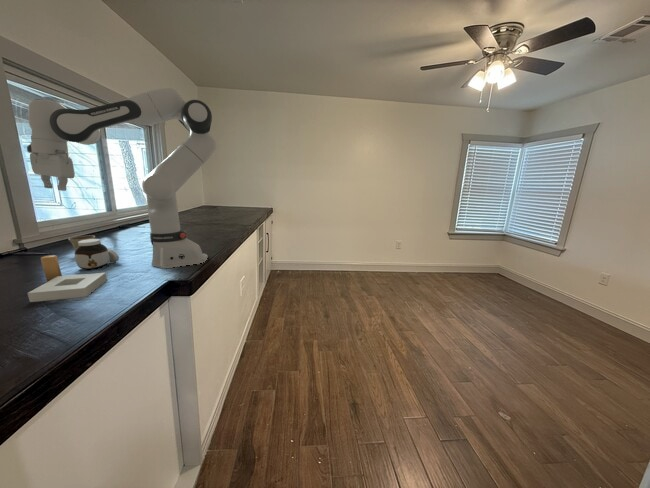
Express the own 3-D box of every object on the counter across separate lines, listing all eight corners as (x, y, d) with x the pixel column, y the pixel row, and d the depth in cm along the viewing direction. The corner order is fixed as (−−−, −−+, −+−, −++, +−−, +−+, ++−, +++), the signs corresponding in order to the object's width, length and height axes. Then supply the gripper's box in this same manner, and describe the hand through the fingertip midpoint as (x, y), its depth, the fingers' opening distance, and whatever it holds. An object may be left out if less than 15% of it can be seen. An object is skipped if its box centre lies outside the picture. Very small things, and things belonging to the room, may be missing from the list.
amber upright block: (65, 277, 97) (59, 254, 95) (58, 281, 93) (52, 258, 91) (51, 278, 96) (45, 255, 94) (44, 282, 92) (37, 258, 90)
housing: (107, 280, 95) (105, 272, 95) (86, 296, 82) (84, 287, 82) (59, 284, 91) (57, 276, 90) (30, 302, 78) (27, 293, 77)
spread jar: (74, 271, 103) (67, 243, 100) (91, 262, 114) (85, 237, 111) (110, 269, 106) (104, 242, 103) (122, 260, 117) (118, 235, 114)
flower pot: (77, 253, 126) (73, 236, 124) (101, 251, 130) (98, 234, 128) (68, 258, 118) (64, 240, 116) (94, 256, 122) (90, 238, 120)
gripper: (78, 152, 90) (82, 192, 93) (48, 150, 97) (52, 187, 100) (54, 148, 84) (59, 191, 87) (24, 147, 92) (29, 186, 94)
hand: (55, 189), depth 93 cm, fingers open, 8 cm apart
